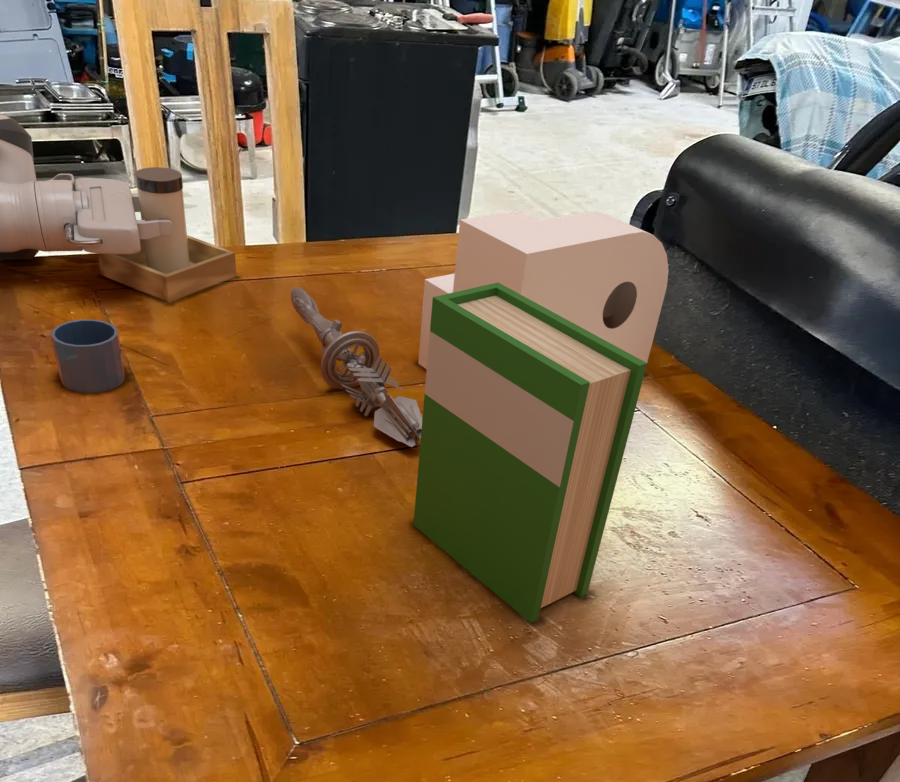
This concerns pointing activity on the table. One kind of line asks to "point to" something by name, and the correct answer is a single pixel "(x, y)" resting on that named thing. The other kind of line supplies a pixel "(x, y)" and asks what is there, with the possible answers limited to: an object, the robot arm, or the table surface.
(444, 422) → the hardback book
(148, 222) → the robot arm
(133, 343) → the table surface
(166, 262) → the jar
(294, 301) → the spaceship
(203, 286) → the tray
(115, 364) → the cup
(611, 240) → the stepped bracket block
